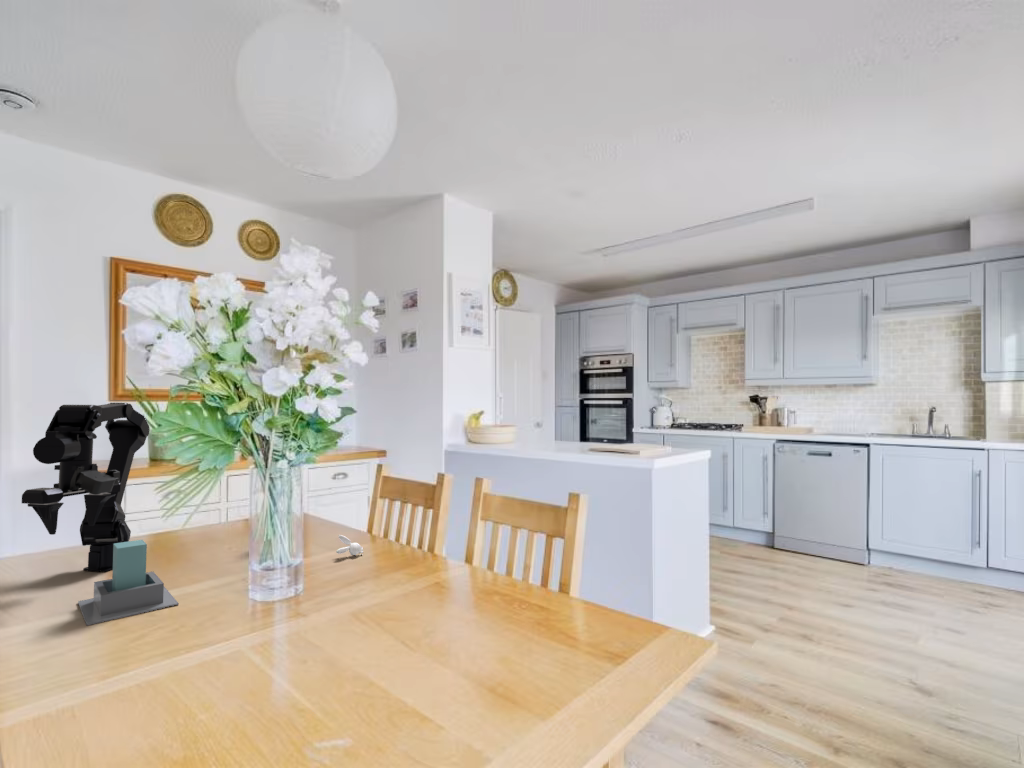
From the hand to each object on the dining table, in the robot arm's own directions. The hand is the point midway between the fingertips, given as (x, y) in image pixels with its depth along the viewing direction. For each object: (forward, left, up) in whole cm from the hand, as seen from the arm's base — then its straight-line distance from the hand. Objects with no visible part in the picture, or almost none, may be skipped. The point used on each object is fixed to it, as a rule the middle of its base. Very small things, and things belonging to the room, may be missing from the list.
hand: (72, 529), depth 120 cm
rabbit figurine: (-34, +50, -13) cm, 62 cm away
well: (+6, +20, -13) cm, 25 cm away
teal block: (+6, +20, -13) cm, 24 cm away
